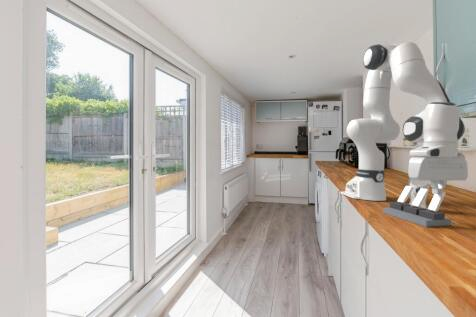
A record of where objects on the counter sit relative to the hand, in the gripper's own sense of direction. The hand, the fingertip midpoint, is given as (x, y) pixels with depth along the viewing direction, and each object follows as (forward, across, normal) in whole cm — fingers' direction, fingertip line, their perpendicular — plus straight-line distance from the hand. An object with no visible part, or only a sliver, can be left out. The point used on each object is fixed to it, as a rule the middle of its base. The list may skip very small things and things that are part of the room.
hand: (437, 194), depth 81 cm
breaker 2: (+6, +2, -6) cm, 9 cm away
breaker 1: (+6, +2, -12) cm, 14 cm away
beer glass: (+10, -13, -18) cm, 25 cm away
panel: (+10, +2, -6) cm, 12 cm away
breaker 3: (+6, +2, 0) cm, 6 cm away
